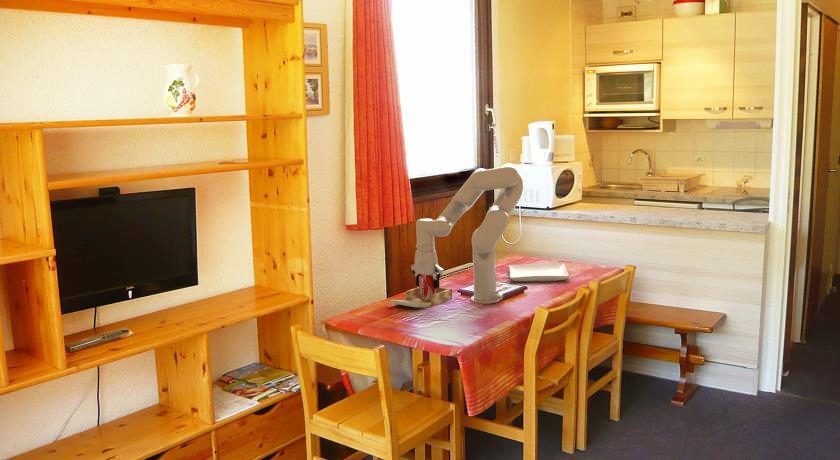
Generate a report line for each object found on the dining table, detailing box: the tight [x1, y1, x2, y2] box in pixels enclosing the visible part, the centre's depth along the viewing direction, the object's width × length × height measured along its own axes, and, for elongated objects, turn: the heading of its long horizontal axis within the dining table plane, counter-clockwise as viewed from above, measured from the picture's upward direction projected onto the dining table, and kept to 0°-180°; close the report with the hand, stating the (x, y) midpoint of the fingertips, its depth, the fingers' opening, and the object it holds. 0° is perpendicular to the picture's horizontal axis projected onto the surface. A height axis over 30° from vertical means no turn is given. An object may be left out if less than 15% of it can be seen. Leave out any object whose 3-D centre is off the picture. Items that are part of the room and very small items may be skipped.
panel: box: [388, 299, 432, 308], centre depth 322 cm, size 1×14×11 cm
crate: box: [405, 286, 453, 307], centre depth 331 cm, size 13×15×5 cm
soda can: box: [418, 274, 436, 301], centre depth 330 cm, size 7×7×12 cm
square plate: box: [508, 262, 570, 283], centre depth 368 cm, size 27×27×4 cm
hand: (427, 286), depth 330 cm, fingers open, 9 cm apart
